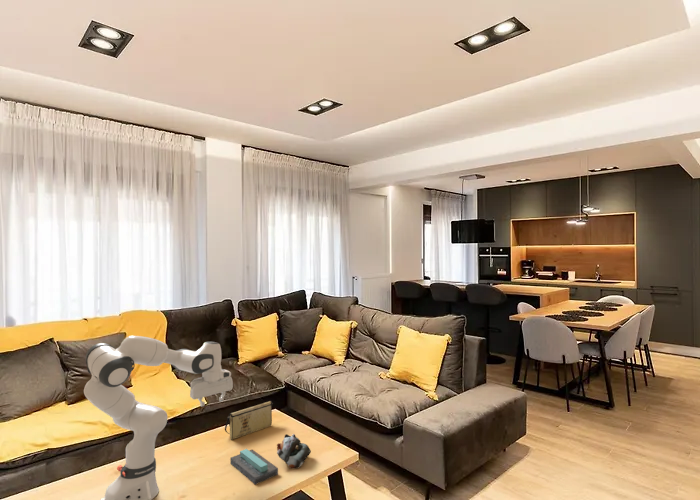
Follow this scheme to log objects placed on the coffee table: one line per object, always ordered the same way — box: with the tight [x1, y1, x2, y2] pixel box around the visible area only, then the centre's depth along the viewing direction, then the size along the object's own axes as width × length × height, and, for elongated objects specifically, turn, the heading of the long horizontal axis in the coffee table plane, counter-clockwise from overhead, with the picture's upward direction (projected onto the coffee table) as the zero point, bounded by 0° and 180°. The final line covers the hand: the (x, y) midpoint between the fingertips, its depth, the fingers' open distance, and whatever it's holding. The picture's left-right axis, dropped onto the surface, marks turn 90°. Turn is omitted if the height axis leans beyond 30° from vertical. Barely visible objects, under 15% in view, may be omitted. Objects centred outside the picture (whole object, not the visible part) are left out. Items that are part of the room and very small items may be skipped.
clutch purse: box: [224, 400, 273, 441], centre depth 233 cm, size 30×7×15 cm, turn 134°
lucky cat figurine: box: [276, 433, 312, 469], centre depth 201 cm, size 15×12×14 cm
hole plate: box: [229, 449, 279, 486], centre depth 194 cm, size 12×24×3 cm, turn 43°
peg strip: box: [239, 448, 268, 472], centre depth 194 cm, size 4×20×5 cm, turn 43°
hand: (212, 403), depth 195 cm, fingers open, 8 cm apart
